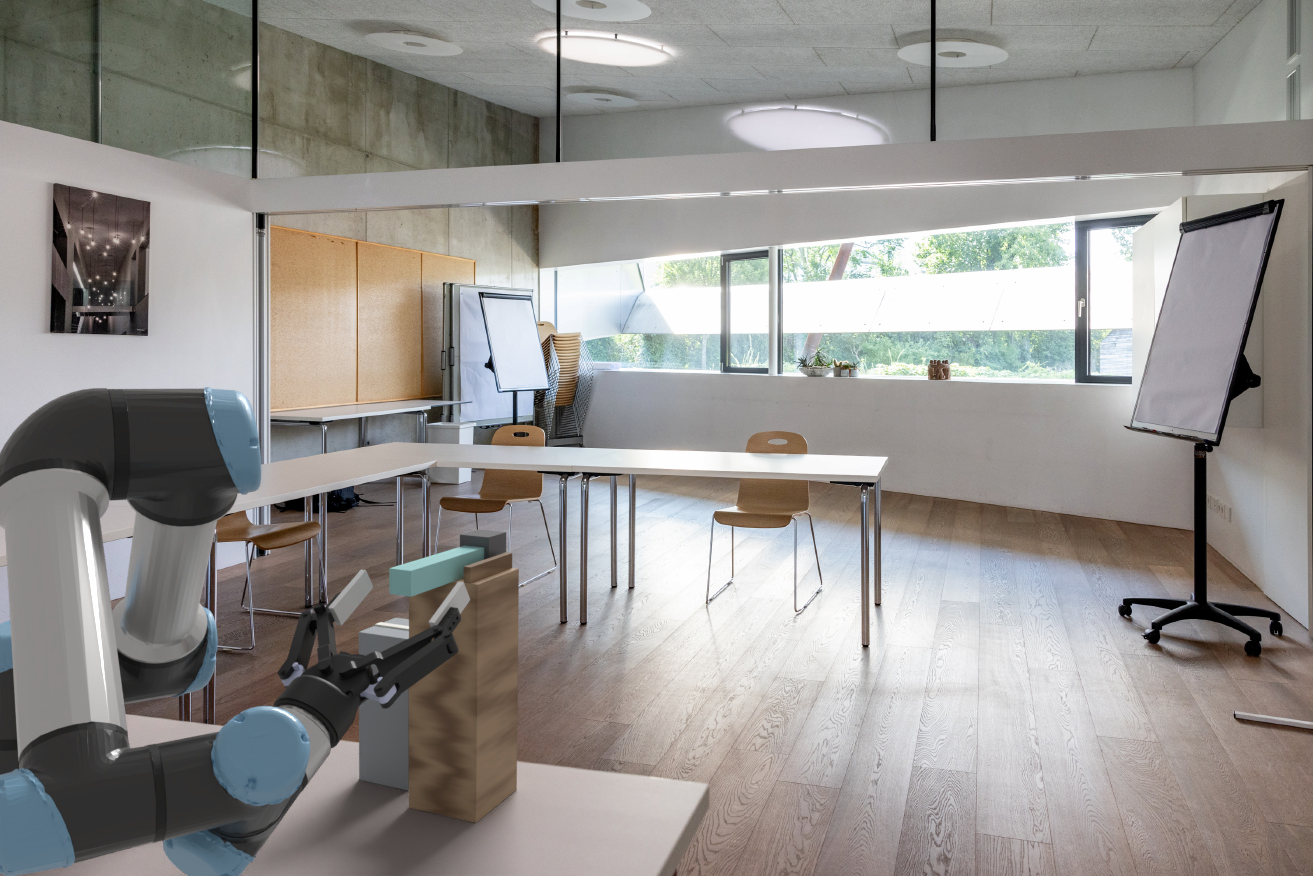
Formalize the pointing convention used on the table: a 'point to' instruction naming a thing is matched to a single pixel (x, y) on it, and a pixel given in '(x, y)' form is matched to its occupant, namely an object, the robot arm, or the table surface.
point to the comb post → (468, 699)
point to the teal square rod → (445, 563)
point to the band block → (384, 717)
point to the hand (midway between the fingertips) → (414, 584)
